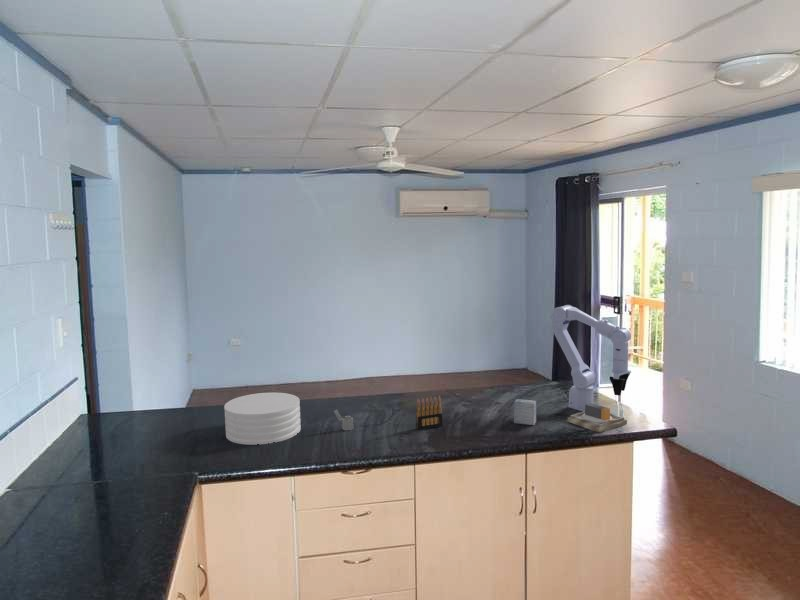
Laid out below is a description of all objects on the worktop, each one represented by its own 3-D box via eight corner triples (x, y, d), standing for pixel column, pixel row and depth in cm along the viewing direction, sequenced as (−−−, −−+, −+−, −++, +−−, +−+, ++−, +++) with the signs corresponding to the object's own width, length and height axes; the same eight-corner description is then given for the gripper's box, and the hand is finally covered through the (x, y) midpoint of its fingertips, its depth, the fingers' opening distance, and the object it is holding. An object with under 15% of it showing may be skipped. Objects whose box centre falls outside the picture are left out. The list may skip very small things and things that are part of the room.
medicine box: (536, 422, 227) (536, 400, 226) (533, 425, 223) (534, 403, 222) (516, 419, 231) (516, 398, 230) (513, 423, 227) (513, 401, 226)
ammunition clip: (440, 424, 227) (440, 394, 226) (442, 425, 225) (442, 395, 224) (415, 428, 223) (415, 398, 222) (417, 430, 221) (417, 399, 220)
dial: (600, 425, 217) (600, 412, 217) (576, 418, 226) (576, 405, 226) (618, 419, 224) (618, 407, 223) (594, 412, 233) (594, 400, 232)
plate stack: (221, 426, 231) (220, 398, 230) (291, 415, 242) (290, 389, 241) (231, 450, 206) (229, 418, 204) (308, 437, 217) (307, 407, 215)
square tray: (567, 421, 227) (567, 414, 227) (594, 413, 236) (594, 407, 235) (599, 432, 215) (599, 425, 214) (626, 423, 223) (627, 417, 223)
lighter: (353, 428, 225) (352, 408, 224) (353, 429, 223) (352, 409, 222) (334, 429, 224) (333, 409, 223) (334, 431, 222) (334, 411, 221)
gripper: (627, 364, 222) (626, 398, 224) (634, 356, 234) (633, 389, 236) (608, 362, 226) (607, 396, 227) (616, 354, 238) (615, 387, 240)
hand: (619, 392), depth 232 cm, fingers open, 7 cm apart
